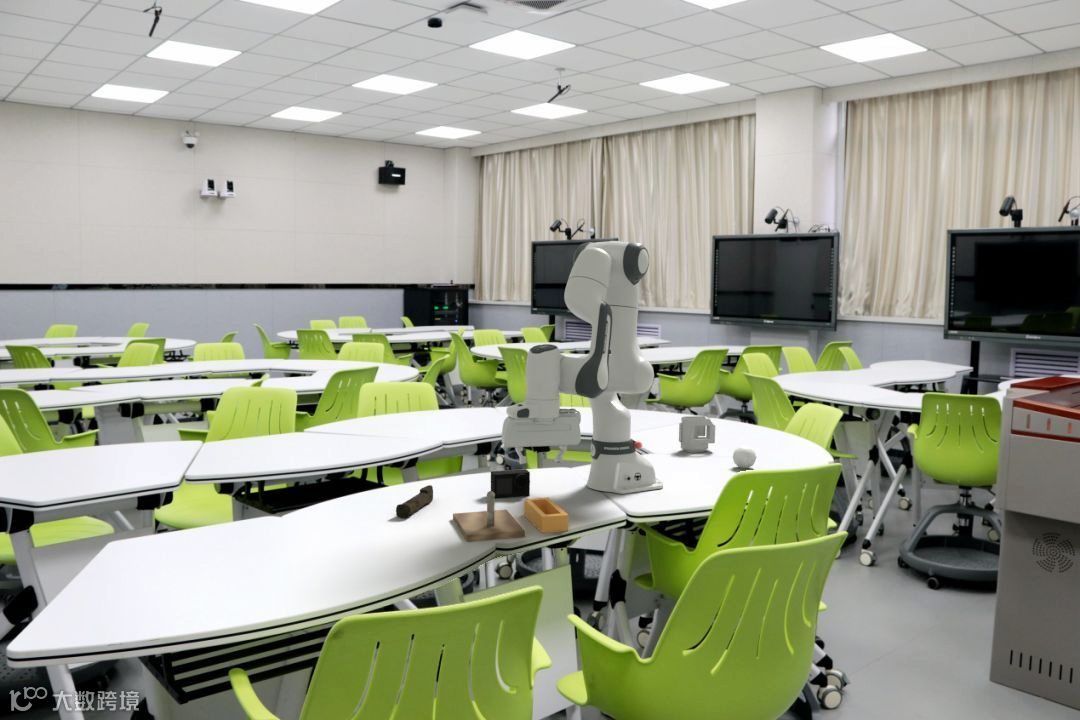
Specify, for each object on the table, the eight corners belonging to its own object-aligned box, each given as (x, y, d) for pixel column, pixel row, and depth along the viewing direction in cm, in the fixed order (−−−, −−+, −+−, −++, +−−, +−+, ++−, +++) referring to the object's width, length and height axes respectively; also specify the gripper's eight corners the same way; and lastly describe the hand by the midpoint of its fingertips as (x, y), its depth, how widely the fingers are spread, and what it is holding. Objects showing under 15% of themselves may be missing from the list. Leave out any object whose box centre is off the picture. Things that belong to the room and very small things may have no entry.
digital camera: (495, 500, 227) (495, 475, 226) (490, 495, 232) (490, 470, 231) (531, 497, 230) (531, 473, 229) (525, 492, 235) (525, 468, 234)
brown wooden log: (409, 520, 208) (409, 502, 208) (395, 518, 209) (395, 500, 209) (441, 501, 226) (441, 484, 226) (428, 499, 227) (428, 483, 227)
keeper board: (506, 515, 212) (506, 477, 211) (525, 536, 195) (525, 495, 194) (452, 519, 208) (452, 480, 207) (467, 541, 191) (467, 499, 190)
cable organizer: (715, 452, 289) (716, 418, 288) (681, 453, 287) (682, 419, 286) (708, 448, 296) (710, 415, 294) (675, 449, 294) (676, 416, 293)
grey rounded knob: (756, 471, 262) (757, 448, 261) (732, 470, 263) (733, 447, 262) (754, 464, 271) (755, 442, 271) (731, 463, 273) (732, 441, 272)
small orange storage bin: (548, 512, 215) (548, 497, 215) (568, 530, 200) (568, 514, 200) (524, 514, 213) (524, 499, 213) (542, 533, 198) (542, 516, 198)
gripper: (576, 406, 213) (575, 458, 214) (500, 408, 207) (499, 462, 208) (585, 410, 207) (583, 464, 208) (506, 412, 201) (505, 467, 202)
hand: (540, 463), depth 208 cm, fingers open, 8 cm apart
